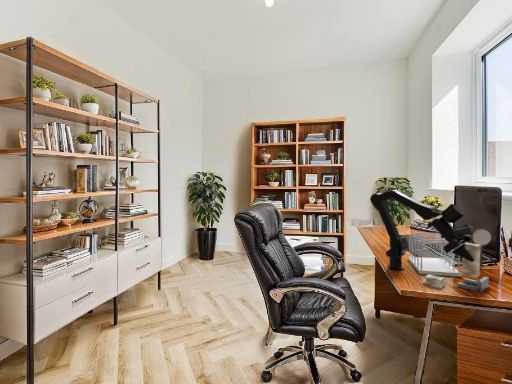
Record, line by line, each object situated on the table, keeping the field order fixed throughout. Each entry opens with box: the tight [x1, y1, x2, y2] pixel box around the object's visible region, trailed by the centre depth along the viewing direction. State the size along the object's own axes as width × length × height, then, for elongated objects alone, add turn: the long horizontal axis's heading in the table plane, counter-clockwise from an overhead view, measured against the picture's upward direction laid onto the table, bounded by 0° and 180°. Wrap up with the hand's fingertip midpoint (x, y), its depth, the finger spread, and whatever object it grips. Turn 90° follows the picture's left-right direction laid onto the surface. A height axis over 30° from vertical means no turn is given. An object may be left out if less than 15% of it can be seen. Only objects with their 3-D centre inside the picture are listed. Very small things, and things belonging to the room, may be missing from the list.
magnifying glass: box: [471, 227, 493, 269], centre depth 146 cm, size 9×2×20 cm, turn 76°
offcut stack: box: [422, 274, 446, 289], centre depth 128 cm, size 7×5×4 cm
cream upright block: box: [461, 242, 481, 279], centre depth 124 cm, size 5×4×13 cm
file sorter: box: [407, 231, 463, 277], centre depth 150 cm, size 25×17×16 cm
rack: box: [456, 276, 490, 293], centre depth 124 cm, size 8×9×4 cm
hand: (475, 260), depth 123 cm, fingers closed on cream upright block, 4 cm apart
